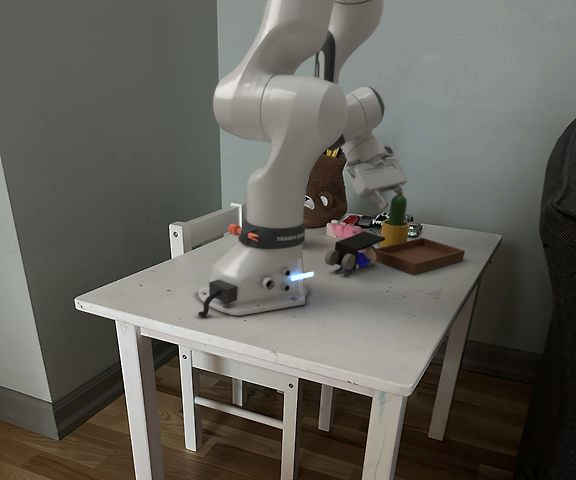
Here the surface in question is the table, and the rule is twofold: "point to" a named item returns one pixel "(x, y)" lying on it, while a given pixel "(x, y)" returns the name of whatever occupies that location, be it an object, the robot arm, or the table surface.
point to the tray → (419, 255)
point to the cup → (394, 233)
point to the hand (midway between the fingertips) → (394, 204)
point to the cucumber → (397, 210)
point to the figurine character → (354, 252)
